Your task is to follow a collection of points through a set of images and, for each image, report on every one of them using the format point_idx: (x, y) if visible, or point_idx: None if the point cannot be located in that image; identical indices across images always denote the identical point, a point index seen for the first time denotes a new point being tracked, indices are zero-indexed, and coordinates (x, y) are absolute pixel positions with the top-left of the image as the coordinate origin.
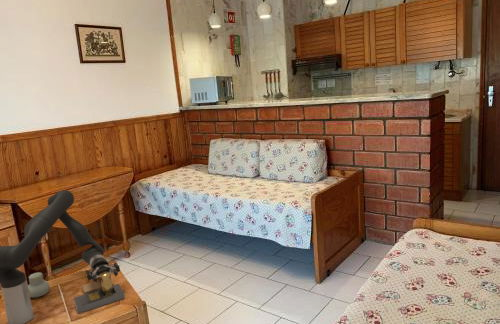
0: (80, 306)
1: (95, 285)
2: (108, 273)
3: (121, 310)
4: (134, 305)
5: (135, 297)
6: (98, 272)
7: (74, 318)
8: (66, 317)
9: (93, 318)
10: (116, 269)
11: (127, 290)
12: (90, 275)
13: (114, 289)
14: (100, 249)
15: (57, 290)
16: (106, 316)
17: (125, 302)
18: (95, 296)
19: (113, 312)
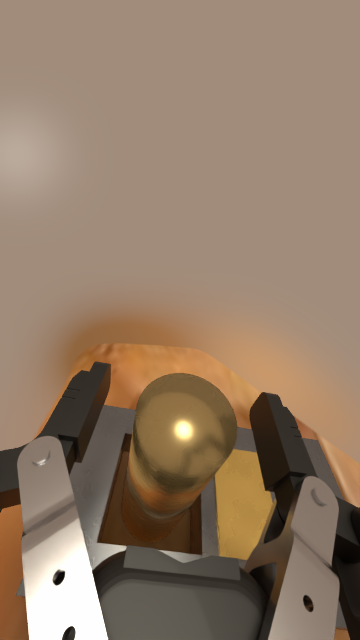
0: (302, 438)
1: None
2: (158, 393)
3: (153, 356)
4: (107, 350)
5: (63, 392)
6: (251, 578)
7: (305, 430)
8: (344, 465)
9: (239, 380)
10: (32, 443)
11: (18, 508)
12: (351, 533)
13: (110, 488)
14: None
15: None
16: (201, 362)
17: (116, 388)
18: (236, 480)
19: (177, 365)
